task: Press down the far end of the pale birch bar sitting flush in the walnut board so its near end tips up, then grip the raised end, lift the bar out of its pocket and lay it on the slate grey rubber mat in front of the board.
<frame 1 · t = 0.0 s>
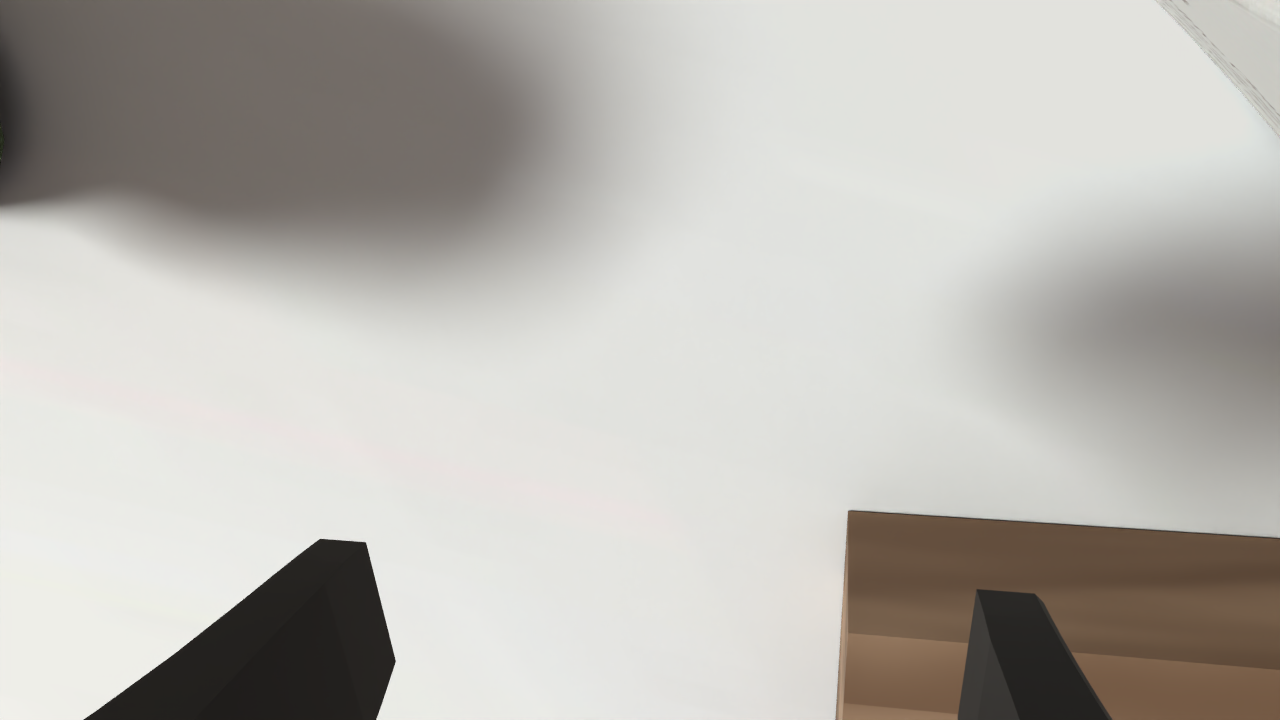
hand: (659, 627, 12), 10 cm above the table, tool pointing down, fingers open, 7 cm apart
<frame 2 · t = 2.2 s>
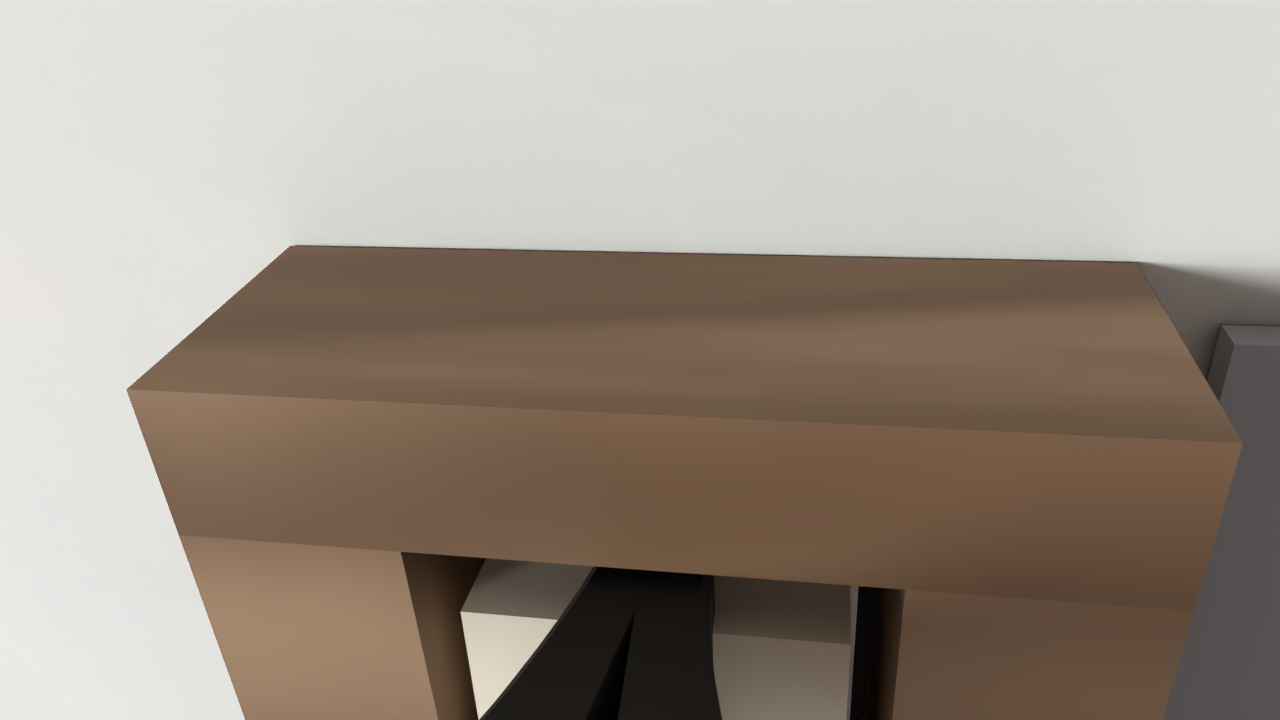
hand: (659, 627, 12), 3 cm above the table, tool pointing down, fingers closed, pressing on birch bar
walnut board: (697, 659, 17), on the table
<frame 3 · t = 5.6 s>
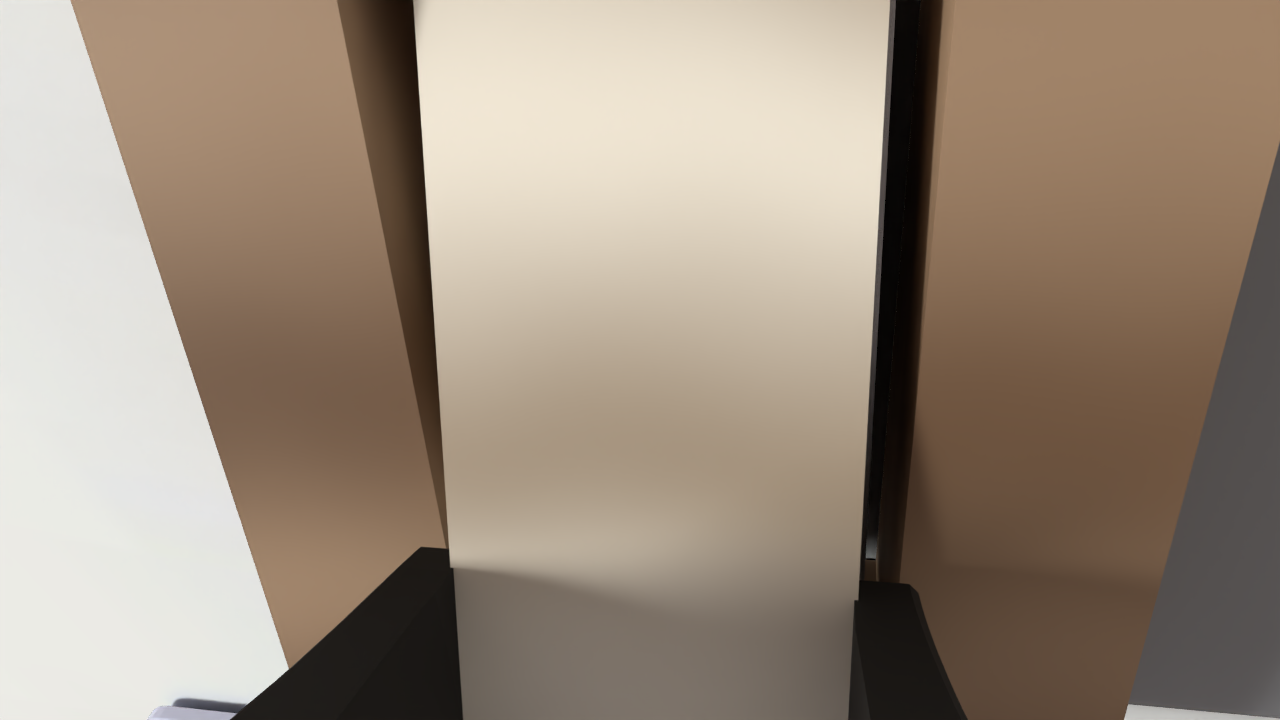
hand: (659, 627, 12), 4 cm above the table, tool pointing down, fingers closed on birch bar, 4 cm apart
birch bar: (674, 354, 12), point 2 cm above the table, tilted 15°, touching gripper, tipping cradle
walnut board: (697, 258, 14), on the table
tipping cradle: (677, 347, 13), point 2 cm above the table, hinge at -15.1°, touching birch bar
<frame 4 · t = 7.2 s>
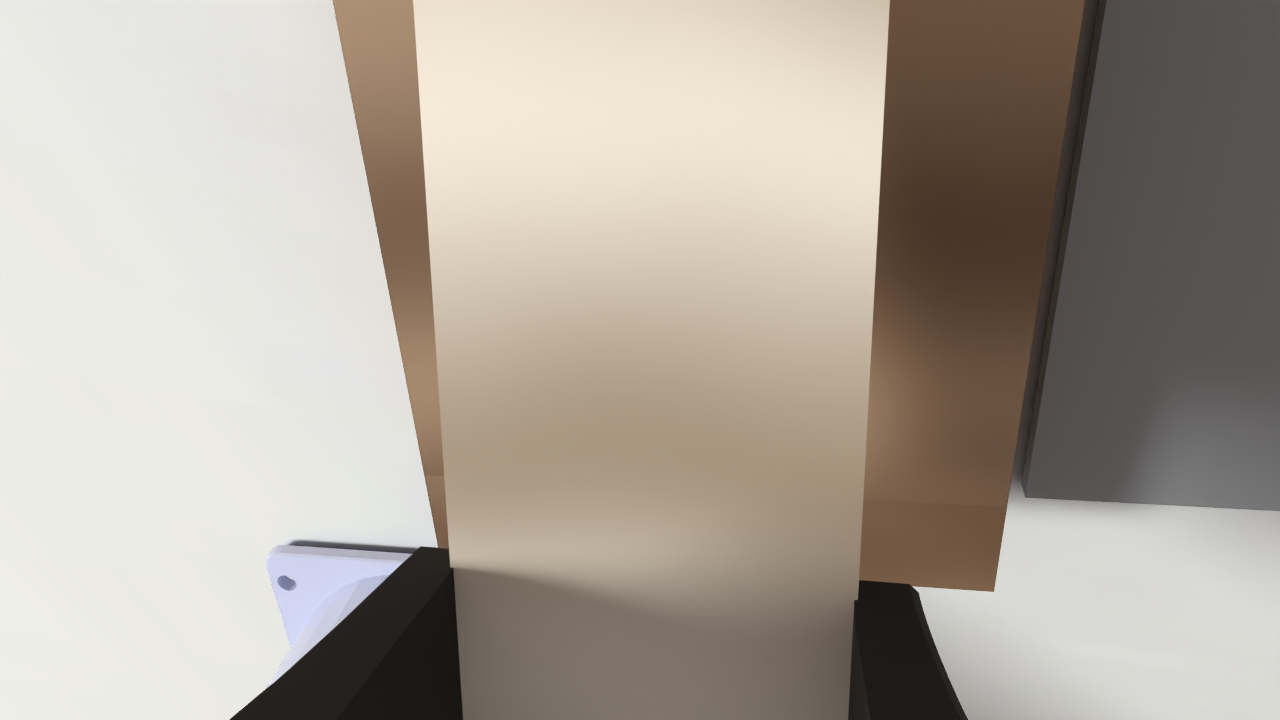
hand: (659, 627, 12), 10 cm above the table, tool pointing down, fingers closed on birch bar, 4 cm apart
birch bar: (674, 353, 12), point 8 cm above the table, tilted 14°, touching gripper
walnut board: (716, 153, 20), on the table
when the fingers open (6 cm above the table, at t = 9.2 s): birch bar drops 3 cm, resting on slate mat.
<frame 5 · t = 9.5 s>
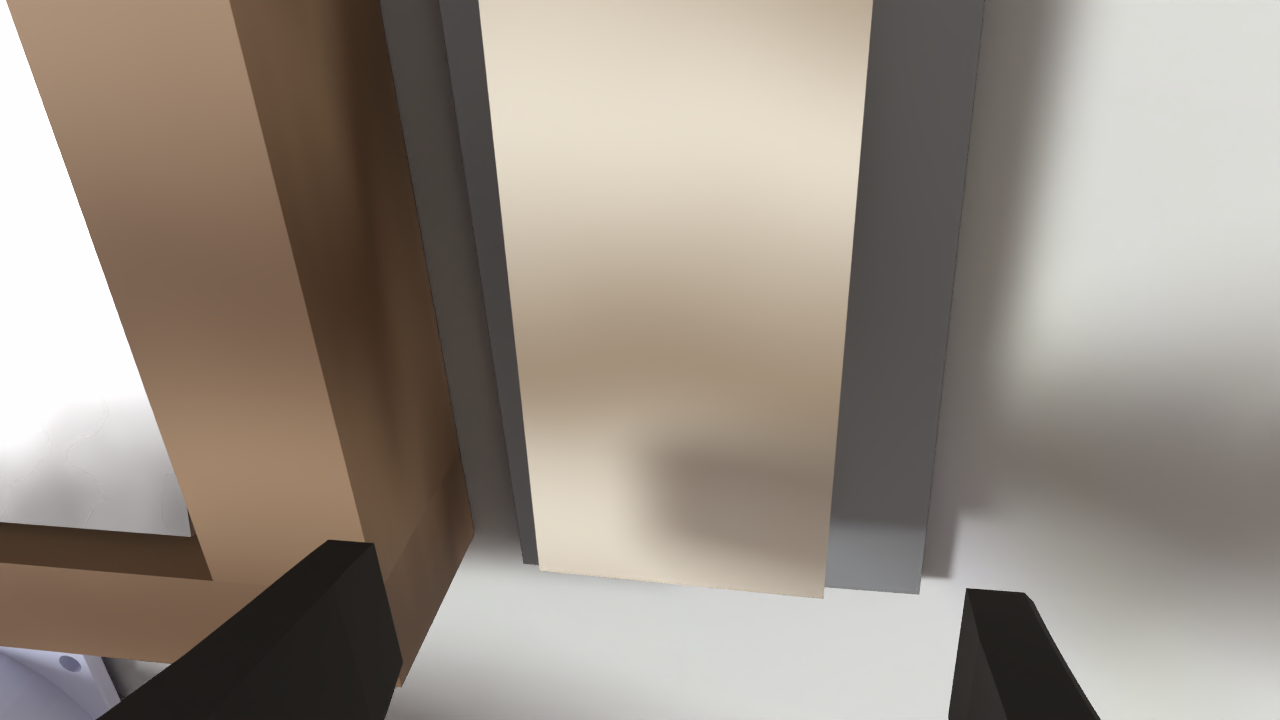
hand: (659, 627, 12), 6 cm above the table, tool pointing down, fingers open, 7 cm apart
birch bar: (693, 270, 15), resting on slate mat
slate mat: (709, 206, 15), on the table
walnut board: (97, 170, 17), on the table
tipping cradle: (14, 235, 15), point 2 cm above the table, hinge at -15.1°
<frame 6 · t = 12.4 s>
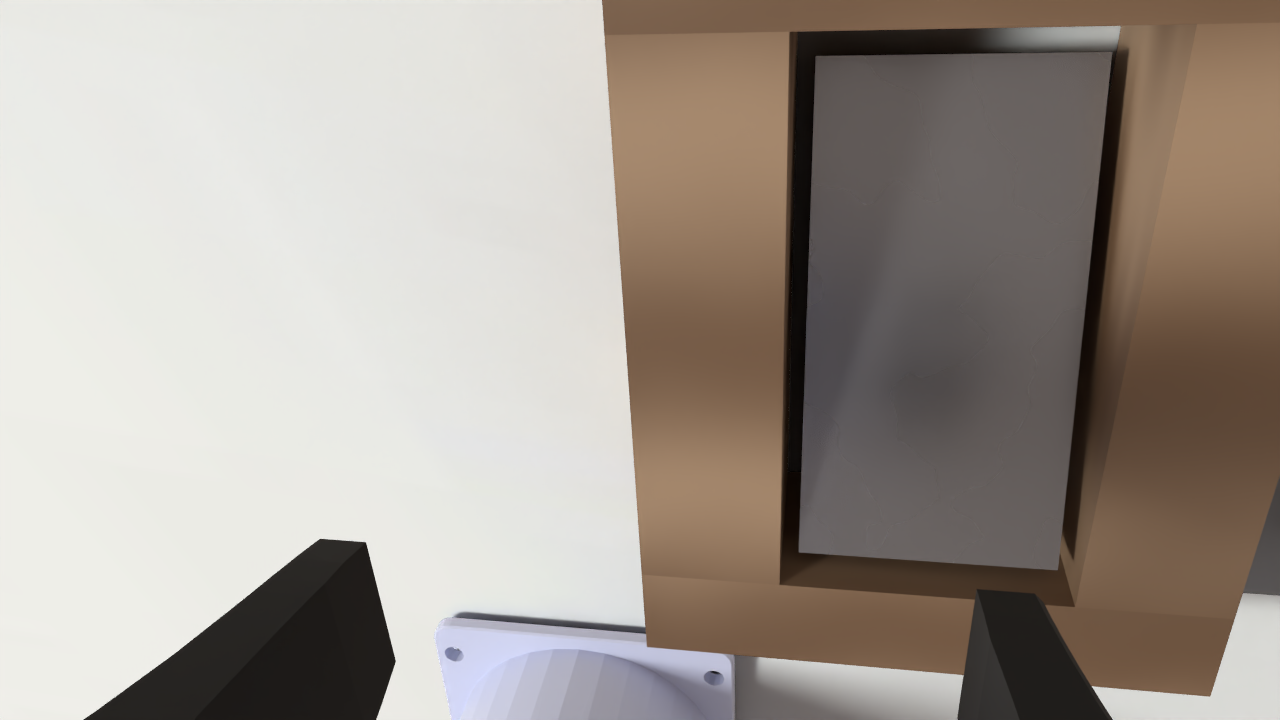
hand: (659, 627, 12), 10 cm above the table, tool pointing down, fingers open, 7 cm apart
walnut board: (932, 261, 20), on the table
tipping cradle: (940, 321, 18), point 2 cm above the table, hinge at -15.1°
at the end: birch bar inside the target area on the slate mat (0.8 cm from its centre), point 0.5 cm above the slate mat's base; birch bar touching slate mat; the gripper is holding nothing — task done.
